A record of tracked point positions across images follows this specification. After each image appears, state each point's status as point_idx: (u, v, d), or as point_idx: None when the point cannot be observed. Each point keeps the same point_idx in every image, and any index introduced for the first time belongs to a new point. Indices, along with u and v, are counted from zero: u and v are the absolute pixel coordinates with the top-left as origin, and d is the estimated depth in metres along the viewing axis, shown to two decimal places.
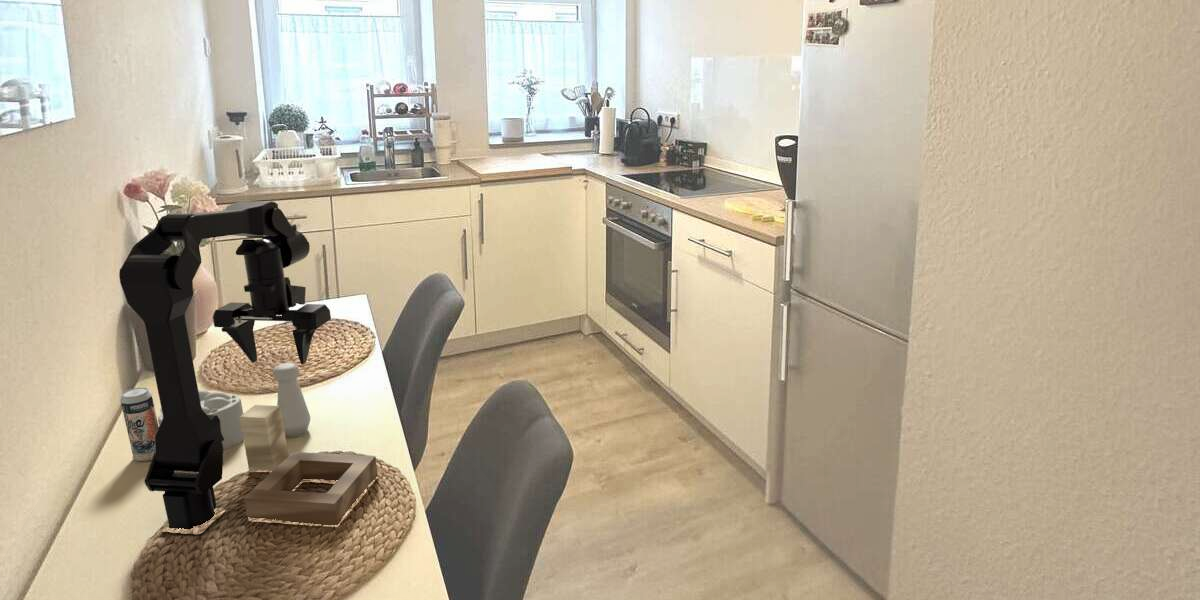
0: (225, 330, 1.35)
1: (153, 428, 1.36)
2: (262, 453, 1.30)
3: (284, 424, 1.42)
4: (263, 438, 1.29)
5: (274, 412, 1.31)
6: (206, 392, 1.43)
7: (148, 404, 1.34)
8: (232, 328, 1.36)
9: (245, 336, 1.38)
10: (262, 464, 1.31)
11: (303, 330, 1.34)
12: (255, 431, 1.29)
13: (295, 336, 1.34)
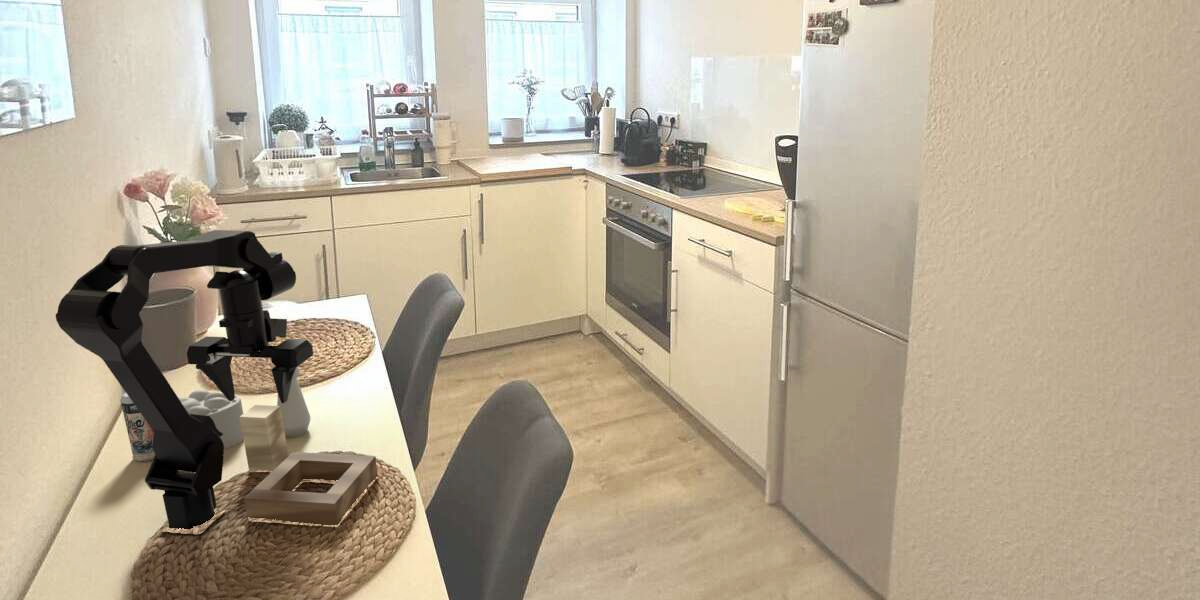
0: (199, 367, 1.26)
1: None
2: (262, 453, 1.30)
3: (284, 424, 1.42)
4: (263, 438, 1.29)
5: (274, 412, 1.31)
6: (206, 392, 1.43)
7: None
8: (207, 365, 1.26)
9: (221, 373, 1.28)
10: (262, 464, 1.31)
11: (283, 368, 1.25)
12: (255, 431, 1.29)
13: (275, 375, 1.25)
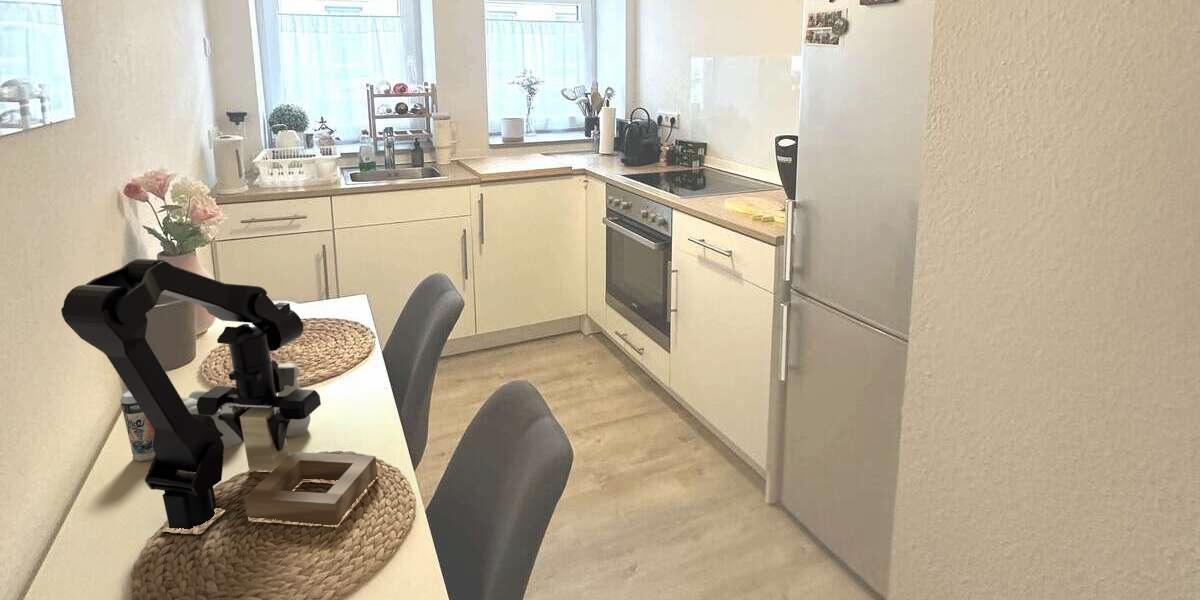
0: (222, 419, 1.29)
1: None
2: (262, 453, 1.30)
3: None
4: (263, 438, 1.29)
5: None
6: None
7: None
8: (229, 416, 1.29)
9: None
10: (262, 464, 1.31)
11: (278, 418, 1.28)
12: (255, 431, 1.29)
13: (270, 425, 1.28)
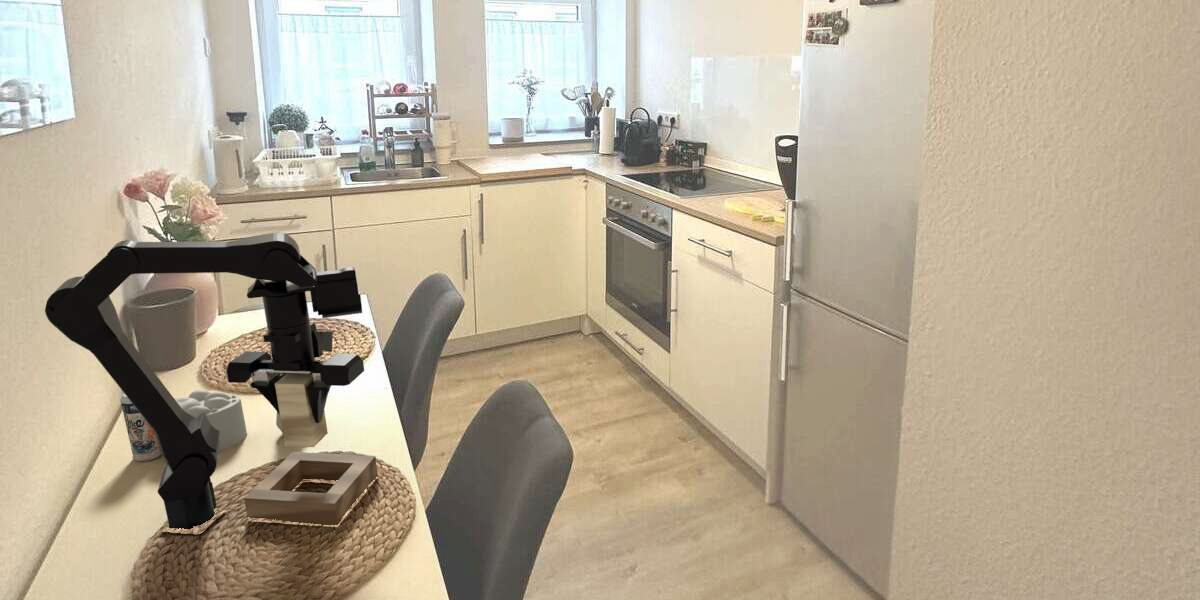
0: (255, 386, 1.15)
1: None
2: (299, 424, 1.17)
3: None
4: (301, 407, 1.16)
5: None
6: (206, 392, 1.43)
7: None
8: (263, 384, 1.15)
9: None
10: (299, 437, 1.18)
11: (319, 385, 1.14)
12: (292, 400, 1.16)
13: (310, 393, 1.15)
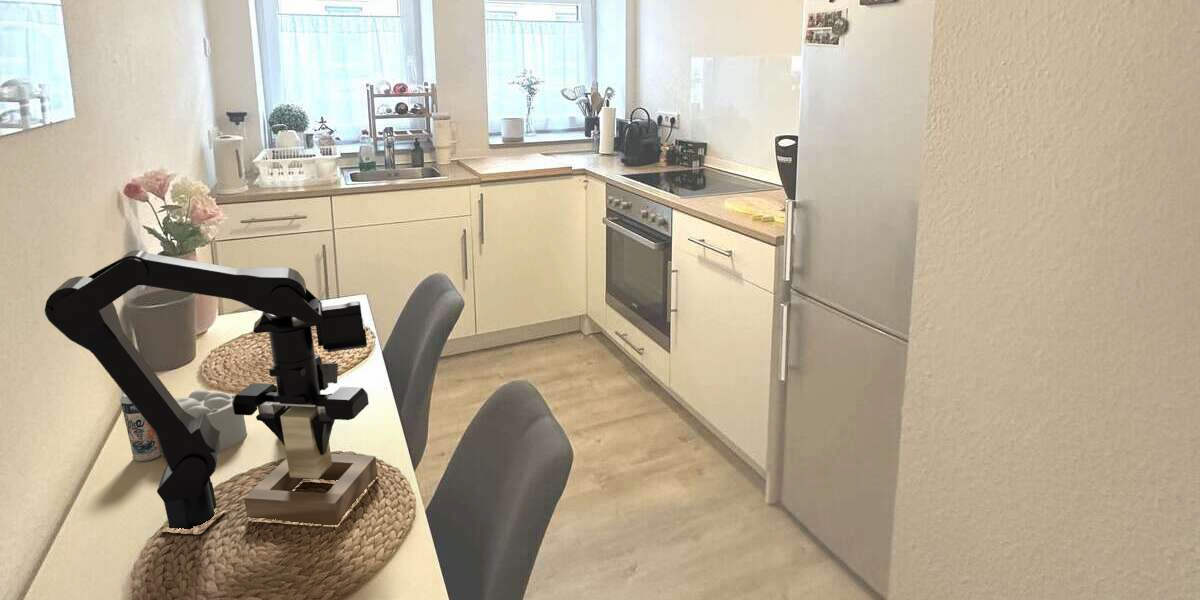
0: (260, 419, 1.17)
1: None
2: (304, 456, 1.18)
3: None
4: (306, 440, 1.17)
5: None
6: (206, 392, 1.43)
7: None
8: (269, 416, 1.17)
9: None
10: (304, 468, 1.19)
11: (323, 419, 1.16)
12: (297, 432, 1.17)
13: (314, 426, 1.16)
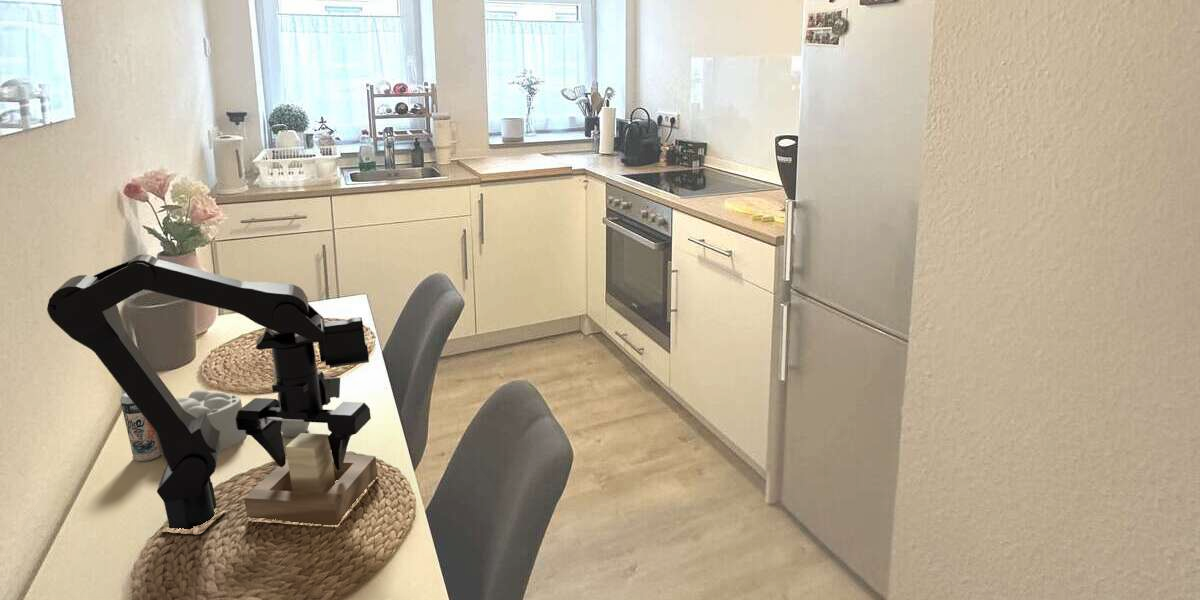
0: (250, 433, 1.18)
1: None
2: (309, 486, 1.20)
3: (284, 424, 1.42)
4: (311, 470, 1.19)
5: (322, 441, 1.20)
6: (206, 392, 1.43)
7: None
8: (258, 431, 1.18)
9: (272, 438, 1.20)
10: None
11: (340, 435, 1.16)
12: (302, 462, 1.19)
13: (331, 442, 1.16)
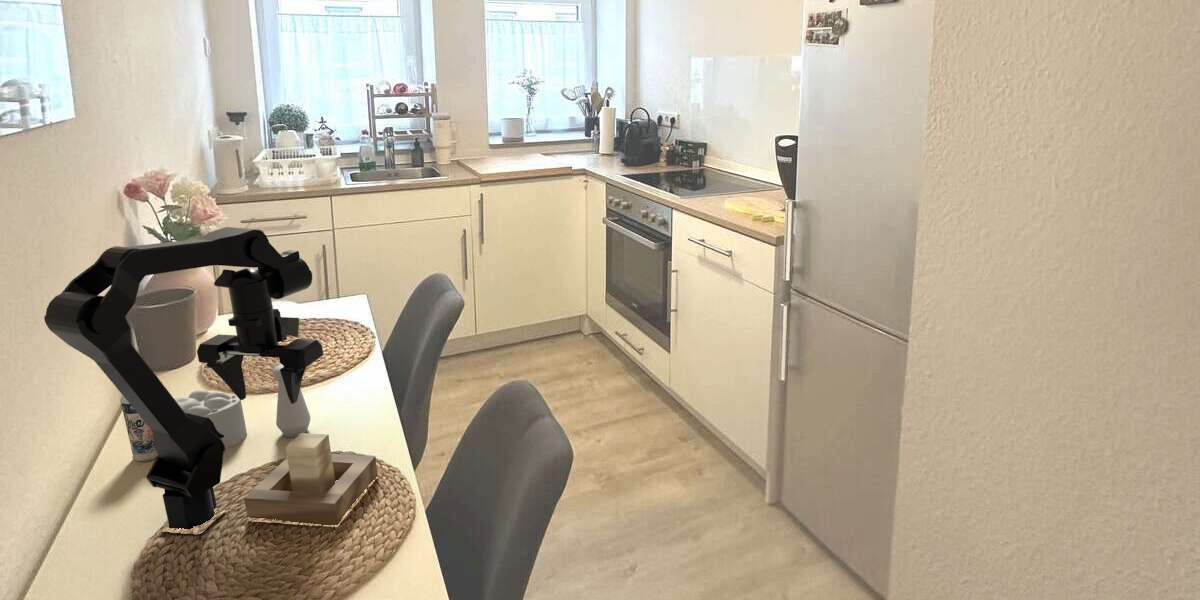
0: (210, 366, 1.25)
1: None
2: (309, 486, 1.20)
3: (284, 424, 1.42)
4: (311, 470, 1.19)
5: (322, 441, 1.20)
6: (206, 392, 1.43)
7: None
8: (217, 364, 1.25)
9: (232, 372, 1.27)
10: None
11: (291, 368, 1.22)
12: (302, 462, 1.19)
13: (283, 375, 1.23)
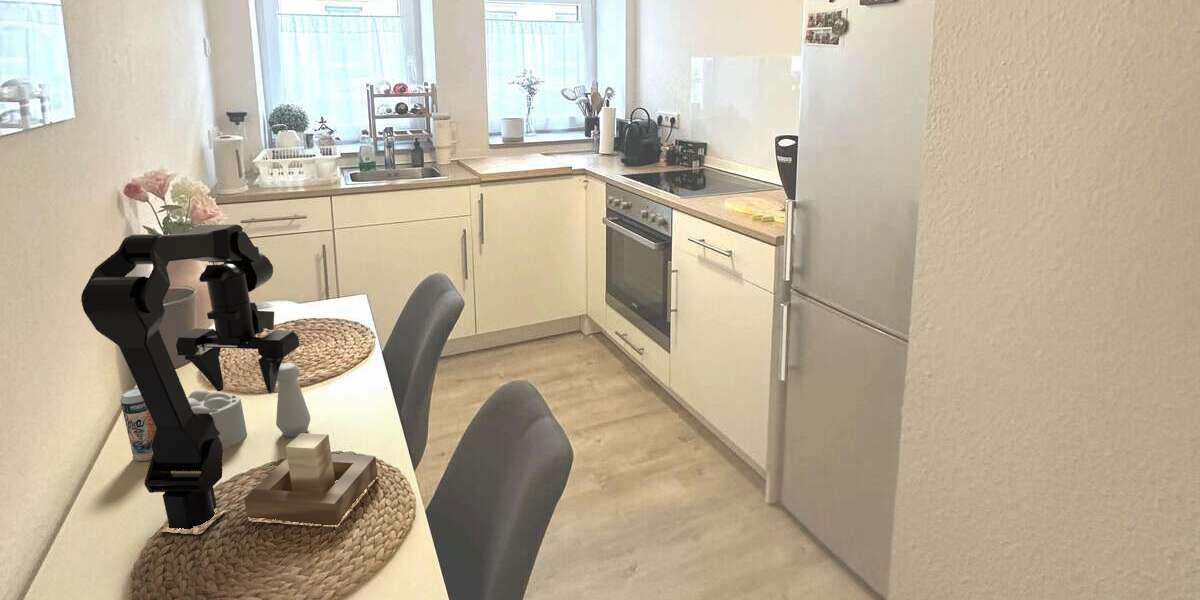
0: (188, 358, 1.30)
1: (153, 428, 1.36)
2: (309, 486, 1.20)
3: (284, 424, 1.42)
4: (311, 470, 1.19)
5: (322, 441, 1.20)
6: (206, 392, 1.43)
7: None
8: (196, 356, 1.30)
9: (210, 364, 1.32)
10: None
11: (269, 358, 1.28)
12: (302, 462, 1.19)
13: (262, 365, 1.28)
